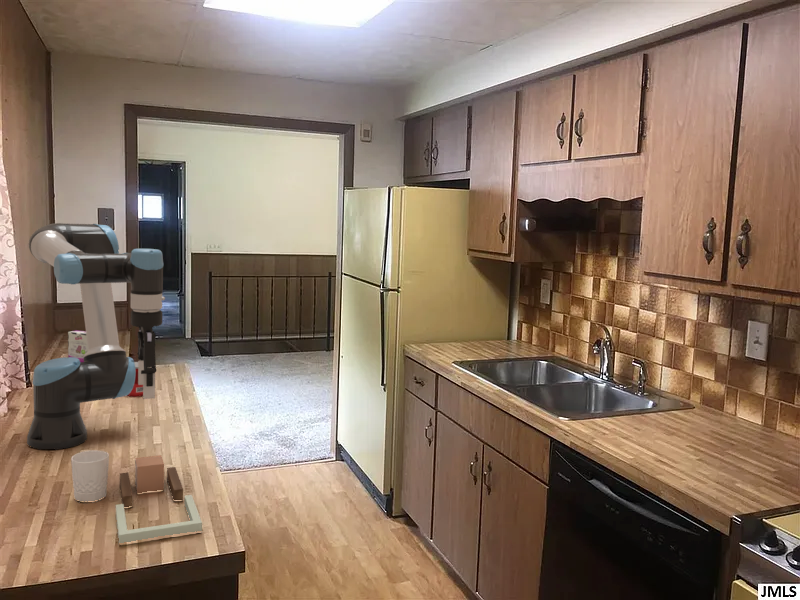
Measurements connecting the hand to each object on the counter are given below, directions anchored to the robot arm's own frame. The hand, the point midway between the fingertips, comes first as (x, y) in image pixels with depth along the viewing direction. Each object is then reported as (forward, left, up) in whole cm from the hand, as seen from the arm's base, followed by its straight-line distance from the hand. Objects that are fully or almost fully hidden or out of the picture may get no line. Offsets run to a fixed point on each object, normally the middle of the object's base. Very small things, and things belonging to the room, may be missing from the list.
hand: (146, 391), depth 169 cm
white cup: (-13, -14, -21) cm, 29 cm away
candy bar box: (-14, +109, -21) cm, 112 cm away
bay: (0, -32, -21) cm, 38 cm away
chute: (0, -16, -21) cm, 26 cm away
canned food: (+3, +72, -21) cm, 75 cm away
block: (0, -13, -21) cm, 25 cm away
